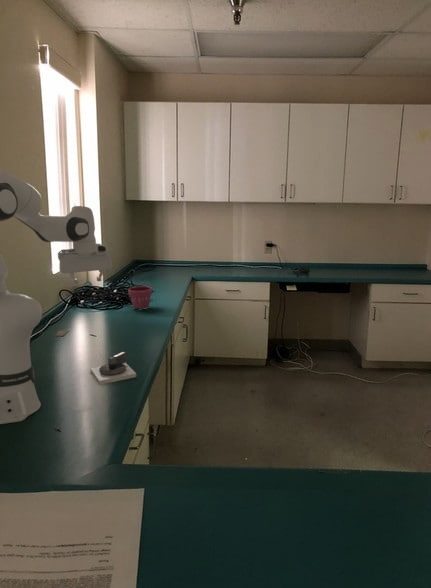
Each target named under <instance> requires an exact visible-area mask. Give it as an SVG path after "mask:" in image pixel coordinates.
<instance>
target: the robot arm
mask: <svg viewBox="0 0 431 588" xmlns="http://www.w3.org/2000/svg"><path fill="white" fill-rule="evenodd" d="M42 207H43V199H42V195H41V193H40V192H39V191H38V190H37V189H36V188H35V187H34V186H32V185H31V184H29V183H28V182H26V181H25V180H23V179H21V178H20V177H18V176H15V175H14V174H11V173H9V172H6V171H2V170H0V222H4V221H6V220H10V219H11V218H13V217H15V218H16V220H18V221H19V222H21V223H23V224H24V225H25V226H27V227H28V228H30V229H31V230H32V231H33V232H34V233H35V234H36V236H37V237H38V238H39V239H40V240H41V241H43V242H45V243H54V242H60V243H61V242H62V243H68V242H69V243H72V248H68V249H67V248H65V249H61V250H60V251H58V252H57V259H58V260H59V272H60V273H61V274H69V276H70V278H71V279H72V283H73V285H77V284H79V283H78V278H76V277H74V276H75V273H83V272H85V273H86V272H93V271H94V272H96V271H98V272H99V274H98V276H96V282H102V276H103V275H104V274H105V273H104V271H106V270H111V269H112V268H113V260H112V257H111V254H110V252H109V246H106V244H105V245H104V244H101V243H97V241H96V240H97V239H96V236H95V231H96V226H95V218H94V214H93V210H92V209H91V207H88V206H84V205H83V206H82V205H75V206H72V207H71V210H70V212H69V213H67V214H65V215H46V214H45V215H43V214H41V213H40V211H41V209H42ZM8 275H9V269H8V266H7V264H6V262H5V260H4V257H3V255H2V254H1V252H0V425H4V424H9V423H17V422H22V421H24V420H25V419H27V417H29V416H30V415H32V414H33V413H36V412H37V411H38V410H40V408H41V405H42V403H41V402H40V399H39V397H38V394H37V390H36V387H35V372H34V371H35V370H34V367H33V366H34V365H32V362H31V360H32V359H31V350H30V342H31V335H32V332H33V331H34V329H35V327H37V326H38V325H39V323H40V321H41V320H42V316H43V309H42V305H41V303H40V302H39V301H38V300H37V299H34V298H33V297H30V296H28V295H26V294H21V293H13V292H10V291H9V290H8V288H7V285H6V278H7V277H8Z"/></svg>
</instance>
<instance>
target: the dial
mask: <svg viewBox="0 0 431 588" xmlns="http://www.w3.org/2000/svg"><path fill="white" fill-rule="evenodd" d="M126 361H127V360H126V352H125V351H124V352H123V351H122V352H120V353H117V354H116V355H113V356H109V357H108V358H107V362H108V363H107V364H104V365H102V367H100V366H99V367H100V369H99V371H100V373H101V374H103V375H117V374H121V373H123V372H125V370H126V366H125V365H124V364H123V363H125V362H126ZM126 363H127V362H126Z"/></svg>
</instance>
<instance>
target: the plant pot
mask: <svg viewBox="0 0 431 588" xmlns="http://www.w3.org/2000/svg"><path fill="white" fill-rule="evenodd" d="M152 289H153V288H152V286H145V285H143V286H140V285H139V286H132V287H130V288H128V290H127V291H128V296H129V297H130V302H131V304H132V308H133V307H134V308H139V309H141V308H142V309H143V308H147V307H149V308H150V302H151V296H152V295H153V290H152ZM134 308H133V309H134Z"/></svg>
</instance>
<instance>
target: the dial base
mask: <svg viewBox="0 0 431 588" xmlns="http://www.w3.org/2000/svg"><path fill="white" fill-rule="evenodd" d="M123 364H124V365H125V366H126V370H125V372H123V373H121V374H117V375H103V374H101V373H100V371H99V369H100V367H102V366H103V365H102V366H96V367H91V368H90V373H91V374H92V375H93V377H94V379H95V380H96V381H97V383H98V384H99V385H104V384H110V383H114V382H118V381H123V380H128V379H134V378H137V373H136V372H135V370H133V368H132V367H131V366H129V364H127V362H125V363H123Z"/></svg>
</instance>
